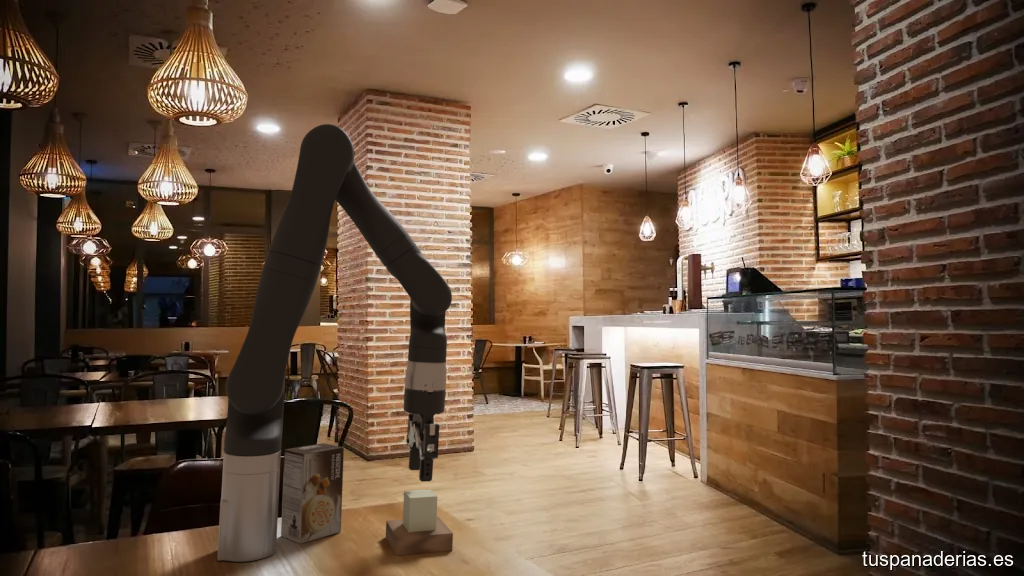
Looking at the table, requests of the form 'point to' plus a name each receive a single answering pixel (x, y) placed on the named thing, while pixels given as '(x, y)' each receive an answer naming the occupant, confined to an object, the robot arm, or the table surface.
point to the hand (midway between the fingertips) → (419, 475)
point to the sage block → (420, 510)
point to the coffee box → (312, 492)
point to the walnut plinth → (418, 538)
